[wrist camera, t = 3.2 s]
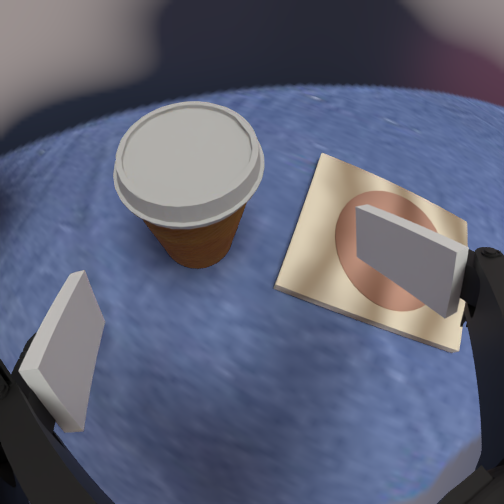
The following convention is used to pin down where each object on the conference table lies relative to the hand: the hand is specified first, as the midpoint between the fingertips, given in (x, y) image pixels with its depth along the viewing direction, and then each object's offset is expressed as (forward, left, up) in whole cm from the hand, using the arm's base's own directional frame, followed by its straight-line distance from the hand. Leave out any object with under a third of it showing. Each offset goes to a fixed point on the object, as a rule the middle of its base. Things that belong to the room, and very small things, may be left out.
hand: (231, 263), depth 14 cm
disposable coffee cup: (-5, +6, -13) cm, 15 cm away
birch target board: (+13, +12, -13) cm, 21 cm away
